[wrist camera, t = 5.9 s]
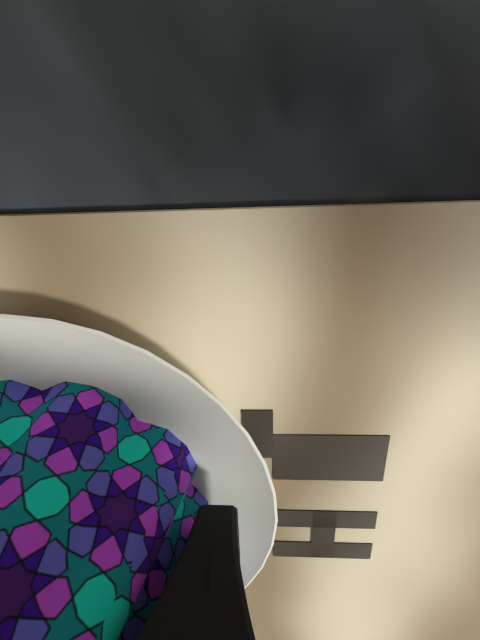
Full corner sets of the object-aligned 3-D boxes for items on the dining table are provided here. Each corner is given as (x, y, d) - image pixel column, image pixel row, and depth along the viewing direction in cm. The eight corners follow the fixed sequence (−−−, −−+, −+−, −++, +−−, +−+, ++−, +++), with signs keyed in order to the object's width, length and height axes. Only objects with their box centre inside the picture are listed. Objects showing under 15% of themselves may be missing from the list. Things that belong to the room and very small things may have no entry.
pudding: (346, 550, 12) (398, 821, 7) (58, 635, 15) (-35, 861, 10) (102, 201, 8) (-144, 306, 3) (-223, 419, 11) (-590, 633, 6)
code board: (1087, 181, 7) (1113, 183, 7) (683, 656, 14) (689, 665, 14) (-324, 224, 9) (-339, 227, 9) (-62, 623, 16) (-67, 630, 16)
